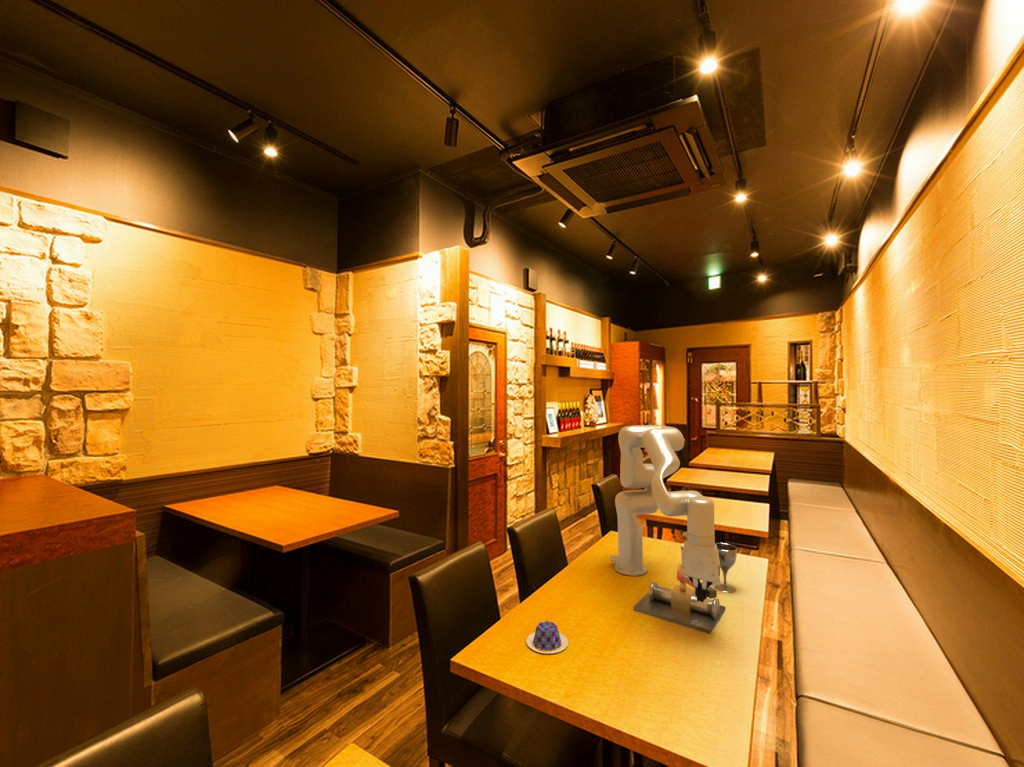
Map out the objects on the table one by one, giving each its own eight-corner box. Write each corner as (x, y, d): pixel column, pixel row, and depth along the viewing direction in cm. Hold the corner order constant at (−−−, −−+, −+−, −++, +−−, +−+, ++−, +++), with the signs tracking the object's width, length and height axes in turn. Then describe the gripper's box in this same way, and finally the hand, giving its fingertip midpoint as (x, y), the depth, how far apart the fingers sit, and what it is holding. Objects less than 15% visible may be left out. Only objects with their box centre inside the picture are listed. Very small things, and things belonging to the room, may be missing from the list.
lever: (674, 578, 149) (674, 570, 149) (683, 576, 150) (683, 569, 150) (708, 599, 134) (708, 591, 134) (718, 597, 135) (718, 589, 135)
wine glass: (734, 595, 157) (734, 552, 158) (710, 589, 162) (710, 547, 162) (739, 587, 164) (738, 545, 164) (716, 581, 169) (715, 541, 169)
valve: (633, 609, 148) (632, 580, 148) (653, 590, 162) (653, 563, 162) (710, 633, 133) (709, 600, 133) (725, 609, 147) (724, 580, 147)
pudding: (518, 640, 132) (518, 622, 132) (551, 628, 138) (551, 611, 138) (542, 661, 121) (542, 641, 121) (576, 647, 128) (576, 628, 128)
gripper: (671, 537, 137) (672, 597, 137) (724, 548, 127) (724, 612, 127) (679, 530, 142) (680, 588, 142) (730, 540, 133) (731, 602, 133)
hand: (701, 599), depth 135 cm, fingers closed
